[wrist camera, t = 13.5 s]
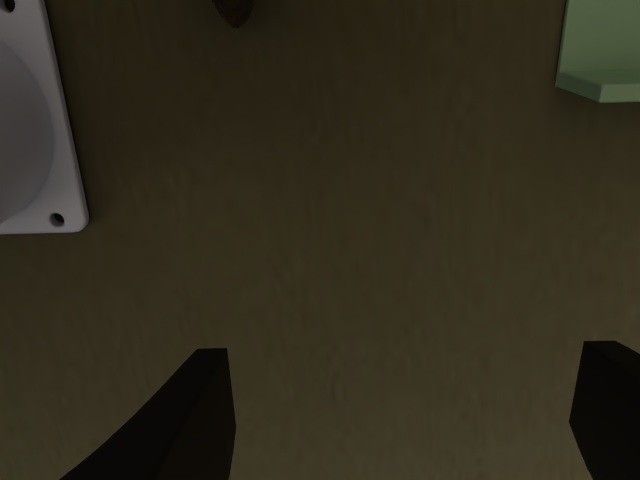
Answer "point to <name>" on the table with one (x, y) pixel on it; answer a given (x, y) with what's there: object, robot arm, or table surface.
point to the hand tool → (234, 10)
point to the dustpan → (601, 50)
